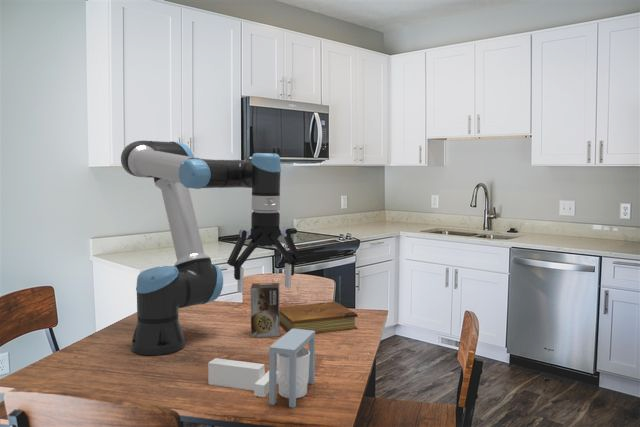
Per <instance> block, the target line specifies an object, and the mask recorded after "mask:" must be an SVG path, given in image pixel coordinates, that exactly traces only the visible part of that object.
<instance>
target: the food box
mask: <svg viewBox="0 0 640 427" xmlns="http://www.w3.org/2000/svg"><path fill="white" fill-rule="evenodd" d="M249 290H250V337H251V338H267V337H270V338H274V337H280V335H281V333H280V332H281V326H280V307H281V305H280V283H279V282H277V283H276V282H275V283H274V282H260V283H259V282H258V283H257V282H255V283H253V282H252V284H251V287H250V289H249Z"/></svg>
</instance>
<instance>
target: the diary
mask: <svg viewBox="0 0 640 427" xmlns="http://www.w3.org/2000/svg"><path fill="white" fill-rule="evenodd" d="M355 318H358V313H357V312H355V311H353V310H351V309H349V308H348V307H346V306H344V305H342V304H340V303H339V302H337V301H329V302H319V303H307V304H306V303H305V304H298V305H287V306H285V305H284V306H280V328H282V329H283V330H284V331H285V332H286V333H287V332H289V331H290V330H291V329H292V328H293V329H303V330H312V331H315V335H318V334H328V333H335V332H345V331H352V330H354V329H355V330H358V327H357V326H355V324H356V323H355V322H356V319H355Z"/></svg>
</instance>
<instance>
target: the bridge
mask: <svg viewBox="0 0 640 427" xmlns="http://www.w3.org/2000/svg"><path fill="white" fill-rule="evenodd" d="M307 344H308V350H309V351H310V360H309V377H308V385H314V384H315V383H316V382H315V379H316V378H315V376H316V374H315V372H316V371H315V370H316V366H315V365H316V334H315V331H312V330H303V329H293V328H292V329H291V330H290V331H289V332H287V331H286V333H285V334H284V335H283V336H281V337H280V338H279V339H278V340H276V341H275V342H274V343H273V344H271V345H270V346H269V348H268V349H269V350H268V356H269V357H268V359H269V361H268V362H269V363H268V365H269V366H268V369H269V370H268V371H269V393H268V396H269V398H268V404H269V405H272V406H274V405H276V403H277V385H276V371H277V353H279V354H287V355H289V398H288V407H289V408H293V409H294V408H296V406H297V398H296V353H297V352H299V351H300V350H301V349H302V348H305V346H306V345H307Z"/></svg>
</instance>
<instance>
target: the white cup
mask: <svg viewBox="0 0 640 427" xmlns="http://www.w3.org/2000/svg"><path fill="white" fill-rule="evenodd" d="M309 360H310V351H309V348H306V347H303V348H302V349H301V350H300V351H299V352H297V353H296V399H300V398H304V397H305V396H306V395H308V385H309ZM276 371H277V373H278V394H279V395H280V396H281V397H283V398H285V399H289V355H287V354H279V353H276Z"/></svg>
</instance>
